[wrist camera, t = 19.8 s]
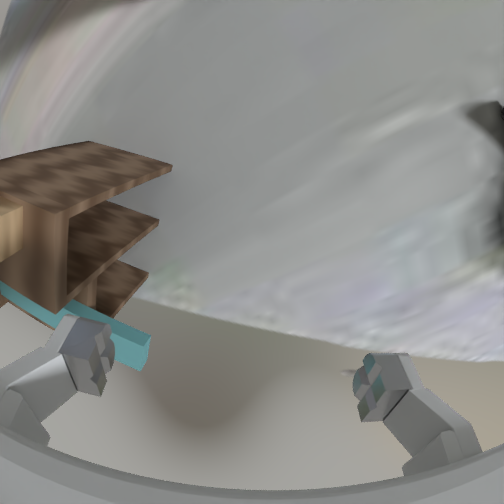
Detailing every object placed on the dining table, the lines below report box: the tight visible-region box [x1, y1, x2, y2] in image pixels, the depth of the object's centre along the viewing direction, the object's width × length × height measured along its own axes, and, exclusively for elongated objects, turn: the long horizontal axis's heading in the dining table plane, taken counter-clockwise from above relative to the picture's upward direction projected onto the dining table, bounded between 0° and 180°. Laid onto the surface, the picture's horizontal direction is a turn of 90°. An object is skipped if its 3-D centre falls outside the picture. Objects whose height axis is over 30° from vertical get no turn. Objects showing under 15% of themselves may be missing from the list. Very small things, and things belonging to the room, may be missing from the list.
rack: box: [0, 141, 172, 330], centre depth 33 cm, size 16×20×32 cm
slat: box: [0, 281, 151, 371], centre depth 31 cm, size 22×4×2 cm, turn 72°
